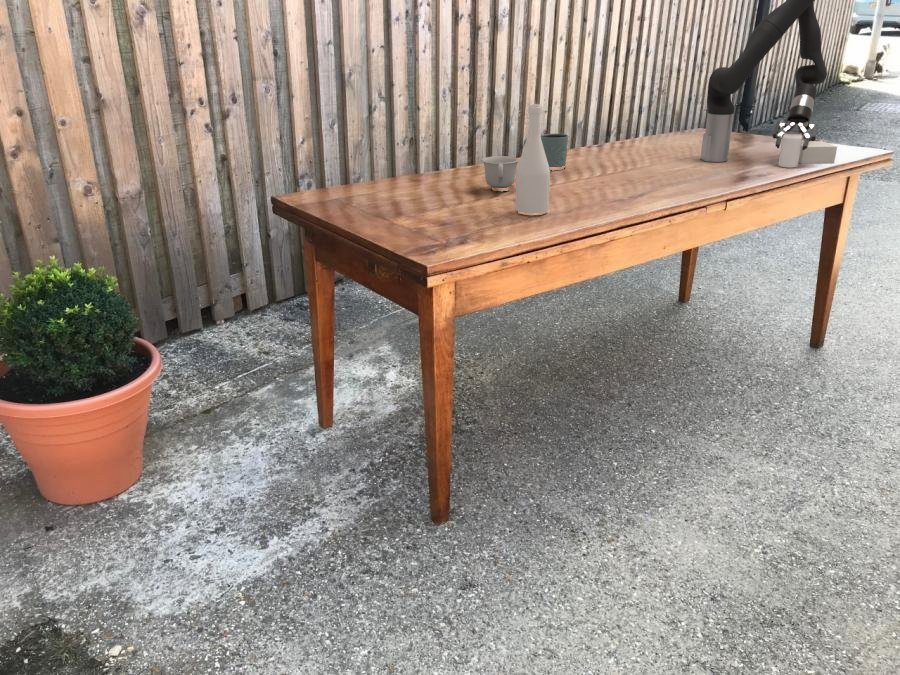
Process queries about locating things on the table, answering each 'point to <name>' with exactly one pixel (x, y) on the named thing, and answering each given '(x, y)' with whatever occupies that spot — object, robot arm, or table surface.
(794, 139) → the can
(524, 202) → the wine bottle
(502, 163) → the teacup
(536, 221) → the table surface
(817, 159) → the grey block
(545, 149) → the green cup
